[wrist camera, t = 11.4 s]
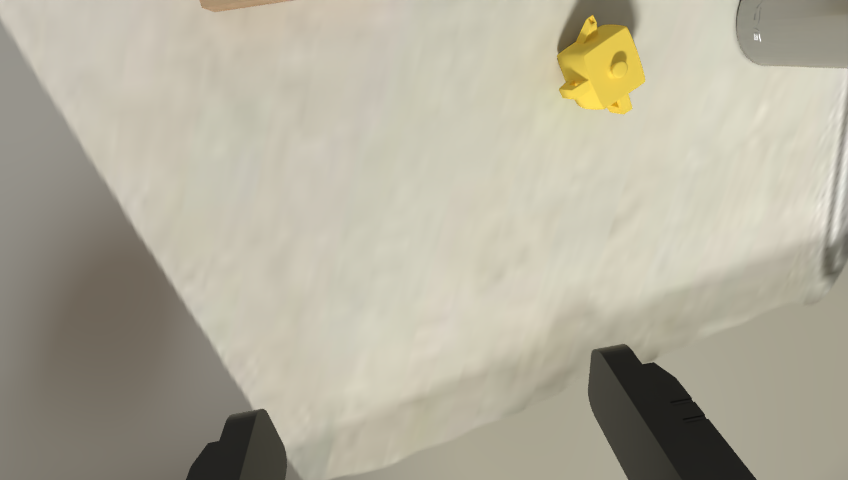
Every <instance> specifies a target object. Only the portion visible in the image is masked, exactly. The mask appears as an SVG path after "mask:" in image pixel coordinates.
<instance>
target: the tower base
mask: <svg viewBox="0 0 848 480" xmlns="http://www.w3.org/2000/svg"><path fill="white" fill-rule="evenodd" d="M285 1H291V0H200V3H201V6H202V8H204V9H207V10H210V11H213V12H218V11H225V10H231V9H238V8H245V7H251V6H258V5H265V4H271V3H278V2H285Z"/></svg>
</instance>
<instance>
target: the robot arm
mask: <svg viewBox="0 0 848 480" xmlns="http://www.w3.org/2000/svg"><path fill="white" fill-rule="evenodd" d="M736 30H737V38H738V42H739V45H740V48H741V50H742V51H743V53H744V54H745V56H746V57H747V58H748V59H750V60H751V61H752V62H754V63H756V64H759V65H765V66H791V67H815V68H848V0H741V3H740V6H739V11H738V15H737V27H736ZM588 396H589V401H590V405H591V408H592V411H593V413H594V416H595V418H596V420H597V421H598V423H599V425H600V427H601V429H602V431H603V433H604V435H605V437H606V438H607V440H608V442H609V444H610V446H611V448H612V450H613V452H614V453H615V455H616V457H617V459H618V461H619V463H620V465H621V467H622V468H623V470H624V472H625V474H626V476H627V478H628V480H756V478H755V477H754V476H753V475H752V473H751V472H750V471H749V470H748V468H747V467H746V466H745V465H744V463H743V462H742V461H741V459H740V458H739V457H738V456H737V454H736V453H735V452H734V451H733V449H732V448H731V447H730V446H729V444H728V443H727V442H726V441H725V439H724V438H723V437H722V436H721V434H720V433H719V432H718V430H717V429H716V428H715V427H714V425H713V424H712V423H711V422H710V420H709V419H706V417H705V414H704V413H703V412H702V410H701V409H700V408H699V407H698V405H697V404H696V403H695V402H693V401H692V398H691V397H690V395H689V394H688V393H687V391H686V390H685V389H684V388H683V386H682V385H681V384H680V383H679V381H678V380H677V379H676V378H675V377H674V376H672V375H671V374H670V373H668V372H667V371H665V370H664V369H662V368H661V367H660V366H658V365H657V364H655V363H654V362H653V363H647V364H642V363H641V362H640V361H639V359H638V358H637V357H636V355H635V354H634V352H633V351H632V350H631V349H630V348H629V347H628V346H627V345H625V344H621V345H615V346H610V347H604V348H599V349H594V350H593V351H592V354H591V363H590V374H589V385H588ZM286 468H287V459H286V451H285V447H284V445H283V443H282V441H281V439H280V437H279V435H278V433H277V431H276V429H275V427H274V425H273V423H272V421H271V419H270V417H269V415H268V413H267V411H266V410H264V409H259V410H253V411H248V412H243V413H237V414H232V415H230V416H229V417H228V419H227V420H226V423H225V426H224V429H223V432H222V435H221V437H220V440H219V441H217V442H212V443H208V444H207V445H206V447H205V448H204V450H203V451H202V452H201V454H200V455H199V457H198V458H197V459H196V460H195V462H194V463H193V464H192V466H191V468H190V470H189V473H188V476H187V479H186V480H285V476H286Z"/></svg>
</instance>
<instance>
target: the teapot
mask: <svg viewBox="0 0 848 480" xmlns="http://www.w3.org/2000/svg"><path fill="white" fill-rule="evenodd" d="M596 23H597V22H596V20H595V18H594V16H593V15H592V16H590V17H589V18H588V19H586V21H585V23H584V25H583V27H582V29H581V32H580V34H579V36H578V38H577V40H576V42H574V43H573V44H571V45H570V46H569V47H567V48H566V49H564V50H563V51H562V52H560V53H559V54H558V55H557V58H558V62H559V65H560V68H561V70H562V73H563V76H564V78H565V81H566V83H565V84H564V85H563V86H562V87H561V88H560V89H559V91H560V93H561V95H562V98H567V99H574V100H575V101H576V103H577V104H578V105H579V106H580V107H582V108H585V109H605V108H608V110H609V111H610V112H612V113H618V114H625V113H627V112H628V111H630V110H631V109H633V108H632V105H631V102H630V98H629V95H628V93H630V92H631V91H633V90H634V89H636V88H637V87H639V86H640V85H641V84H643V83H644V82H645V76H644V72H643V68H642V65H641V61H640V58H639V55H638V52H637V49H636V47H635V44H634V41H633V39H632V37H631V34H630V32H629V30H628V28H627V27H626V26H622V25H612V24H609V25H602V26H599V27H597V24H596Z"/></svg>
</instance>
